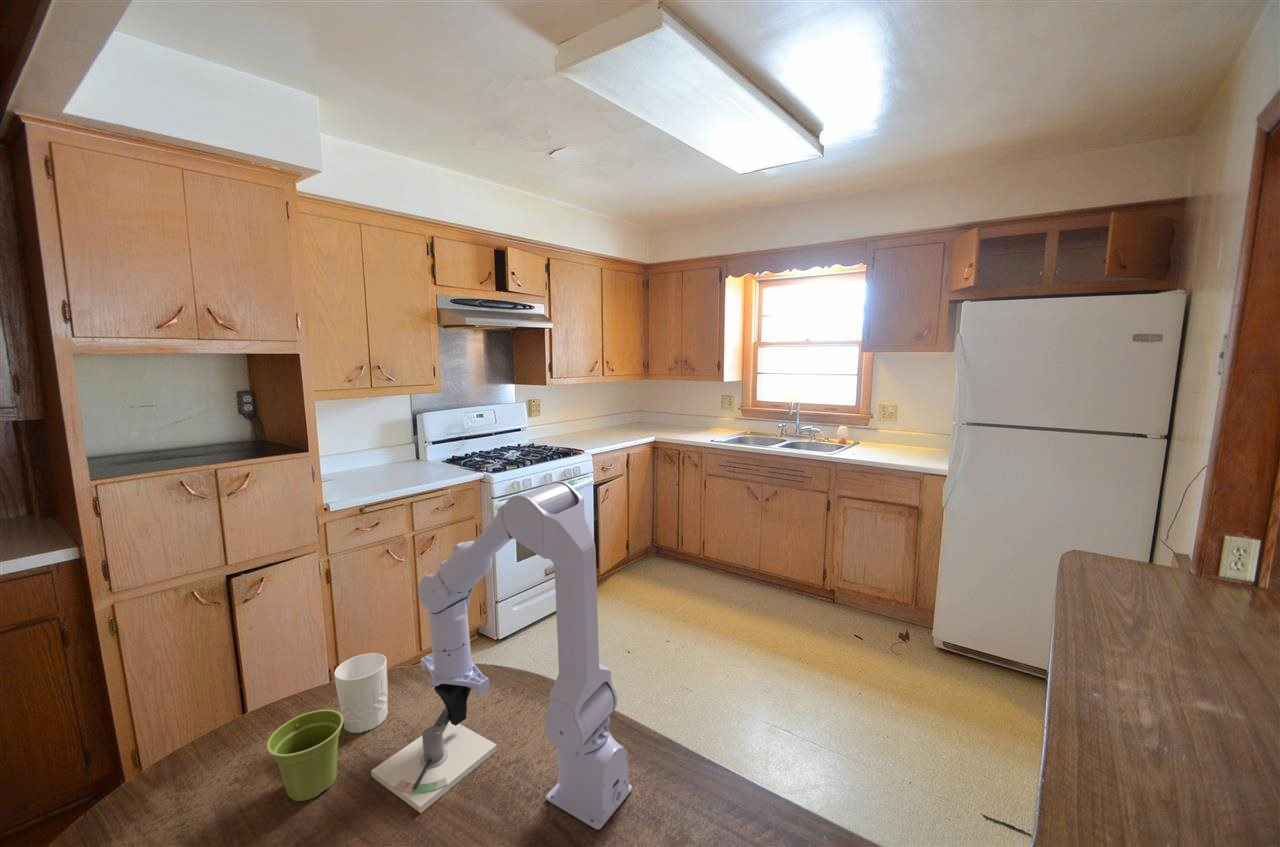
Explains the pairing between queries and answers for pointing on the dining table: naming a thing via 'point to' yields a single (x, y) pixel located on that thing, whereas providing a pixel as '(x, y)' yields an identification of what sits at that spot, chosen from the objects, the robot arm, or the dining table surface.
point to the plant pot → (307, 752)
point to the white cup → (362, 691)
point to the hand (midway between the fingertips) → (458, 721)
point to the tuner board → (433, 766)
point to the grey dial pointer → (433, 743)
